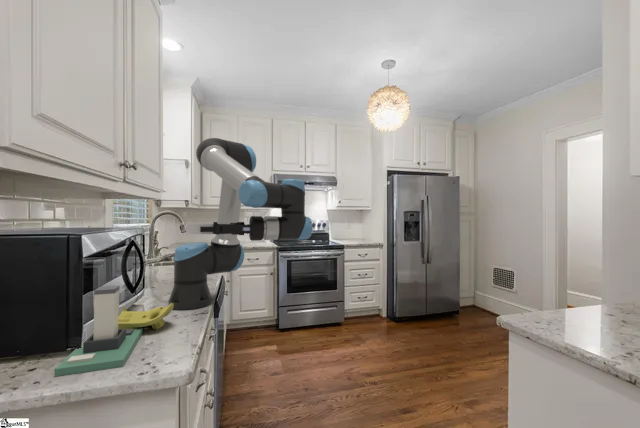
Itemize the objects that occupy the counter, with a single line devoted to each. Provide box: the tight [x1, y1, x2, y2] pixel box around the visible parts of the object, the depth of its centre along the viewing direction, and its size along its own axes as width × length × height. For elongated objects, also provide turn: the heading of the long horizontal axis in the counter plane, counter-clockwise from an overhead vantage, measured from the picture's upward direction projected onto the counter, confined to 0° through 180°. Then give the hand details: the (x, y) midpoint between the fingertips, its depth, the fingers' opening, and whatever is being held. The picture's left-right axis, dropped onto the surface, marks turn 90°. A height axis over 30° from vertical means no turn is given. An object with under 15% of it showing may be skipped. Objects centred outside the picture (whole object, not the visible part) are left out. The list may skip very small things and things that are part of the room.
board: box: [54, 327, 144, 377], centre depth 71 cm, size 20×12×4 cm, turn 21°
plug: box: [93, 285, 120, 341], centre depth 71 cm, size 4×4×14 cm
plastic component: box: [118, 303, 174, 330], centre depth 88 cm, size 20×7×10 cm
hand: (188, 228), depth 83 cm, fingers open, 13 cm apart
